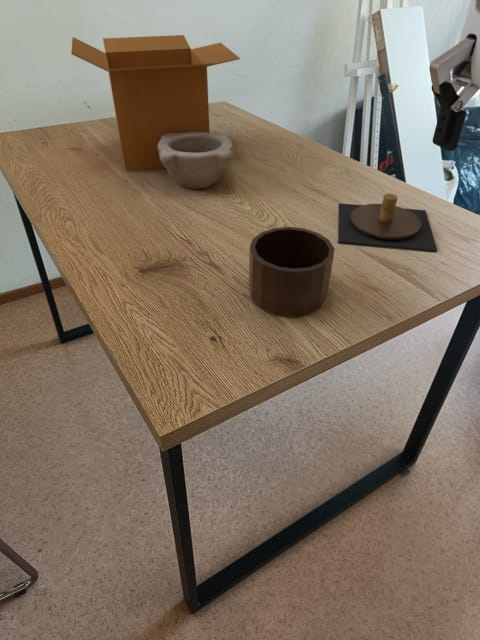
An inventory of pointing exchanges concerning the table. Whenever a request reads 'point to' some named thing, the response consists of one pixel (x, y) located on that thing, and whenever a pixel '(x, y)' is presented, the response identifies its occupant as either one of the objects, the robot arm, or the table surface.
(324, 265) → the tin
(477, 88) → the robot arm
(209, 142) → the mortar
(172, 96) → the box
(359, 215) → the tin lid
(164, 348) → the table surface
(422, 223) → the mat
